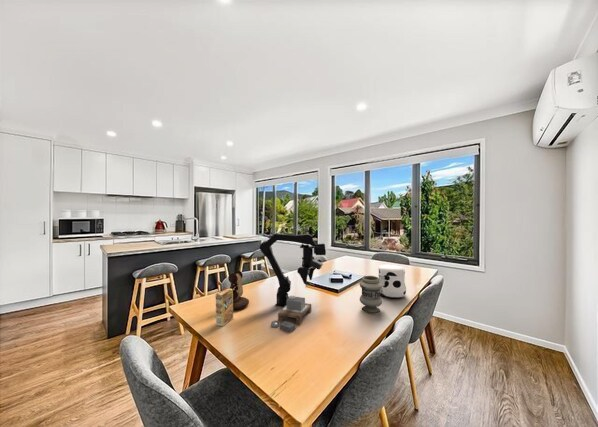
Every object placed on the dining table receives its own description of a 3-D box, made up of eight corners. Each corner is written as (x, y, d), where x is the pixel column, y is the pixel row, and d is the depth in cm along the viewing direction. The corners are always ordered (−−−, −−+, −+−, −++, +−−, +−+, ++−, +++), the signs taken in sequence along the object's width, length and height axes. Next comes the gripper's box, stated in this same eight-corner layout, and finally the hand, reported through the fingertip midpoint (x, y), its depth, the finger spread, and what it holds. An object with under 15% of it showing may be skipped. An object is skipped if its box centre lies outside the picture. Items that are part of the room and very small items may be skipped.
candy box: (223, 326, 111) (222, 294, 111) (215, 325, 112) (215, 293, 112) (233, 318, 120) (233, 288, 119) (226, 317, 121) (226, 288, 121)
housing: (301, 310, 118) (300, 300, 118) (286, 308, 121) (286, 298, 121) (304, 306, 124) (304, 295, 124) (291, 304, 126) (290, 294, 126)
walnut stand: (278, 320, 117) (278, 311, 117) (291, 308, 132) (291, 300, 132) (300, 324, 113) (300, 315, 113) (311, 311, 127) (311, 303, 127)
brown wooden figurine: (242, 312, 127) (242, 275, 127) (217, 310, 129) (217, 274, 129) (252, 302, 141) (252, 269, 141) (230, 300, 144) (229, 268, 144)
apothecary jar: (355, 310, 128) (355, 277, 128) (365, 304, 137) (365, 273, 136) (376, 317, 120) (376, 282, 119) (386, 309, 128) (386, 277, 128)
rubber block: (279, 329, 109) (279, 324, 109) (285, 326, 112) (285, 320, 112) (290, 333, 105) (290, 327, 105) (295, 329, 108) (295, 324, 108)
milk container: (408, 293, 153) (407, 266, 153) (403, 302, 138) (403, 272, 138) (380, 289, 162) (380, 263, 162) (374, 297, 148) (374, 268, 147)
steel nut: (269, 326, 111) (269, 323, 111) (273, 323, 115) (273, 320, 115) (276, 328, 109) (276, 325, 109) (280, 324, 113) (280, 321, 113)
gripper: (316, 259, 126) (316, 288, 126) (325, 253, 143) (325, 279, 143) (296, 258, 130) (297, 286, 130) (308, 252, 147) (308, 277, 147)
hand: (308, 281), depth 137 cm, fingers open, 9 cm apart
